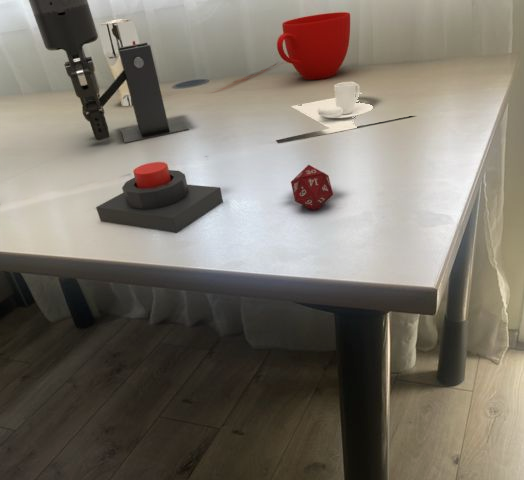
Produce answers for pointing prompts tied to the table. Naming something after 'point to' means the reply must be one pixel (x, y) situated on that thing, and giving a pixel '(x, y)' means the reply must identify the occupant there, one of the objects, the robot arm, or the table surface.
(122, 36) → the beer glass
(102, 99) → the switch lever
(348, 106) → the teacup and saucer
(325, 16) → the ceramic cup
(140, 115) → the switch bracket
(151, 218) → the grey button base
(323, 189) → the dice
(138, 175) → the stop button
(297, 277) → the table surface
